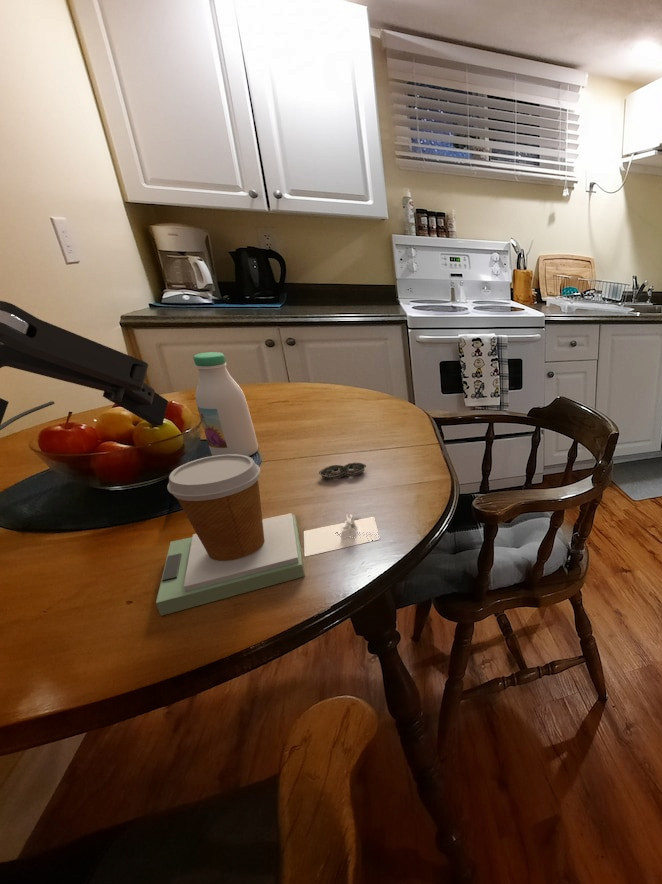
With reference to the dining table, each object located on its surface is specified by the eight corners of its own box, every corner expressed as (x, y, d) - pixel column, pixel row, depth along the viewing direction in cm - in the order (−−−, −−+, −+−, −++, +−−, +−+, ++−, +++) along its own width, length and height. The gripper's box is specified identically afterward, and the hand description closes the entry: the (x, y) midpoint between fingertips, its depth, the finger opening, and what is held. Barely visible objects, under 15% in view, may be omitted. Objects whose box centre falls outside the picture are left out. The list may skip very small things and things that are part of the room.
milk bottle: (256, 442, 103) (231, 347, 95) (262, 455, 98) (236, 356, 89) (210, 450, 98) (180, 352, 90) (214, 464, 93) (182, 361, 85)
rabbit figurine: (359, 537, 75) (356, 519, 73) (341, 541, 74) (337, 523, 72) (357, 527, 77) (354, 509, 76) (339, 530, 76) (336, 513, 75)
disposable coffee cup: (206, 533, 69) (180, 456, 64) (284, 523, 72) (265, 449, 67) (181, 575, 61) (149, 491, 56) (270, 561, 64) (247, 481, 59)
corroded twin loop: (367, 476, 92) (366, 471, 91) (319, 483, 89) (318, 478, 88) (366, 465, 96) (365, 460, 95) (319, 471, 93) (318, 466, 92)
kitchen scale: (174, 553, 69) (168, 536, 68) (297, 525, 77) (293, 510, 75) (161, 616, 58) (153, 597, 57) (304, 576, 66) (300, 559, 65)
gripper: (-565, 311, 25) (-89, 452, 45) (16, 322, 29) (217, 446, 49) (-469, 199, 28) (-58, 379, 47) (53, 224, 32) (230, 380, 51)
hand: (82, 414), depth 48 cm, fingers open, 13 cm apart
